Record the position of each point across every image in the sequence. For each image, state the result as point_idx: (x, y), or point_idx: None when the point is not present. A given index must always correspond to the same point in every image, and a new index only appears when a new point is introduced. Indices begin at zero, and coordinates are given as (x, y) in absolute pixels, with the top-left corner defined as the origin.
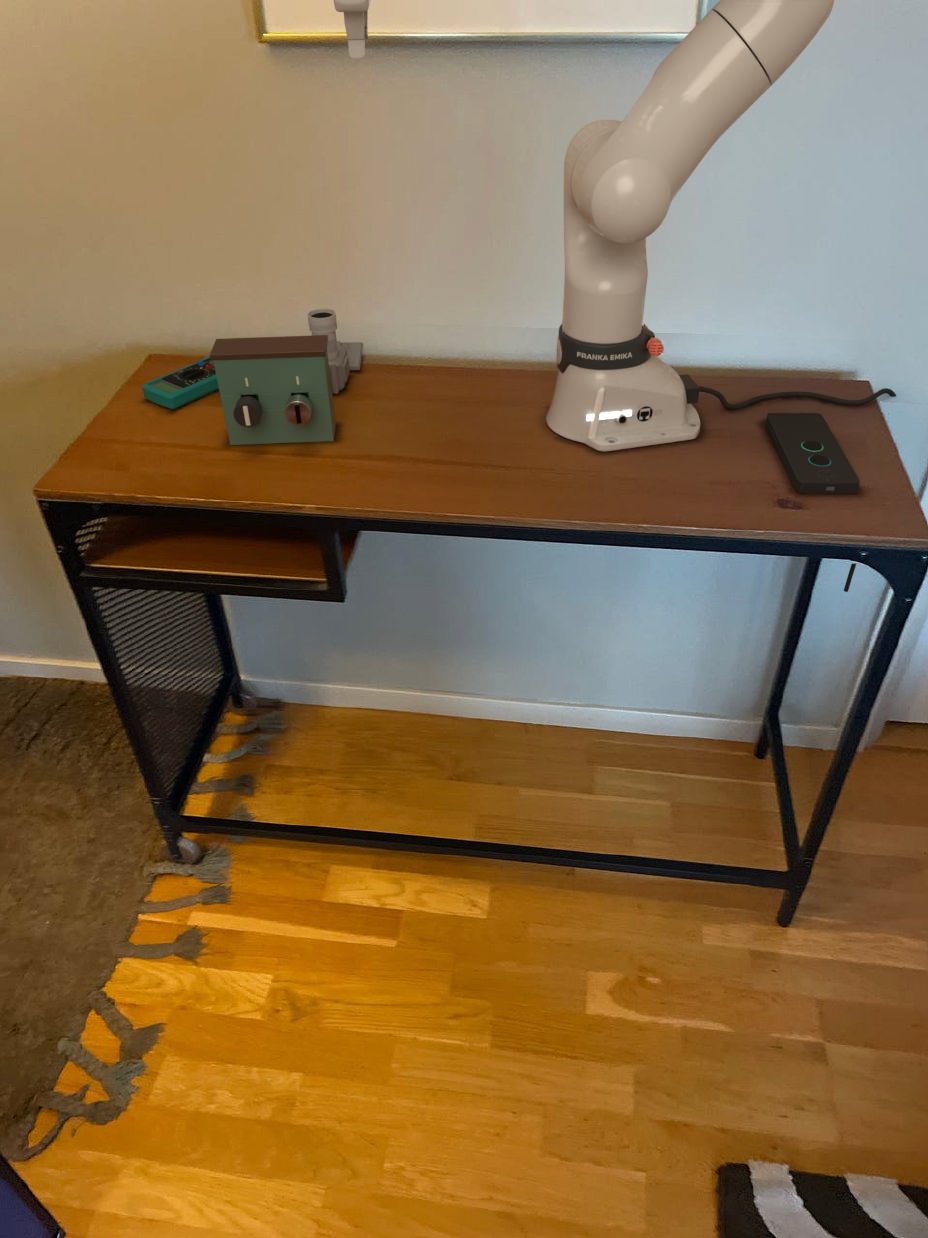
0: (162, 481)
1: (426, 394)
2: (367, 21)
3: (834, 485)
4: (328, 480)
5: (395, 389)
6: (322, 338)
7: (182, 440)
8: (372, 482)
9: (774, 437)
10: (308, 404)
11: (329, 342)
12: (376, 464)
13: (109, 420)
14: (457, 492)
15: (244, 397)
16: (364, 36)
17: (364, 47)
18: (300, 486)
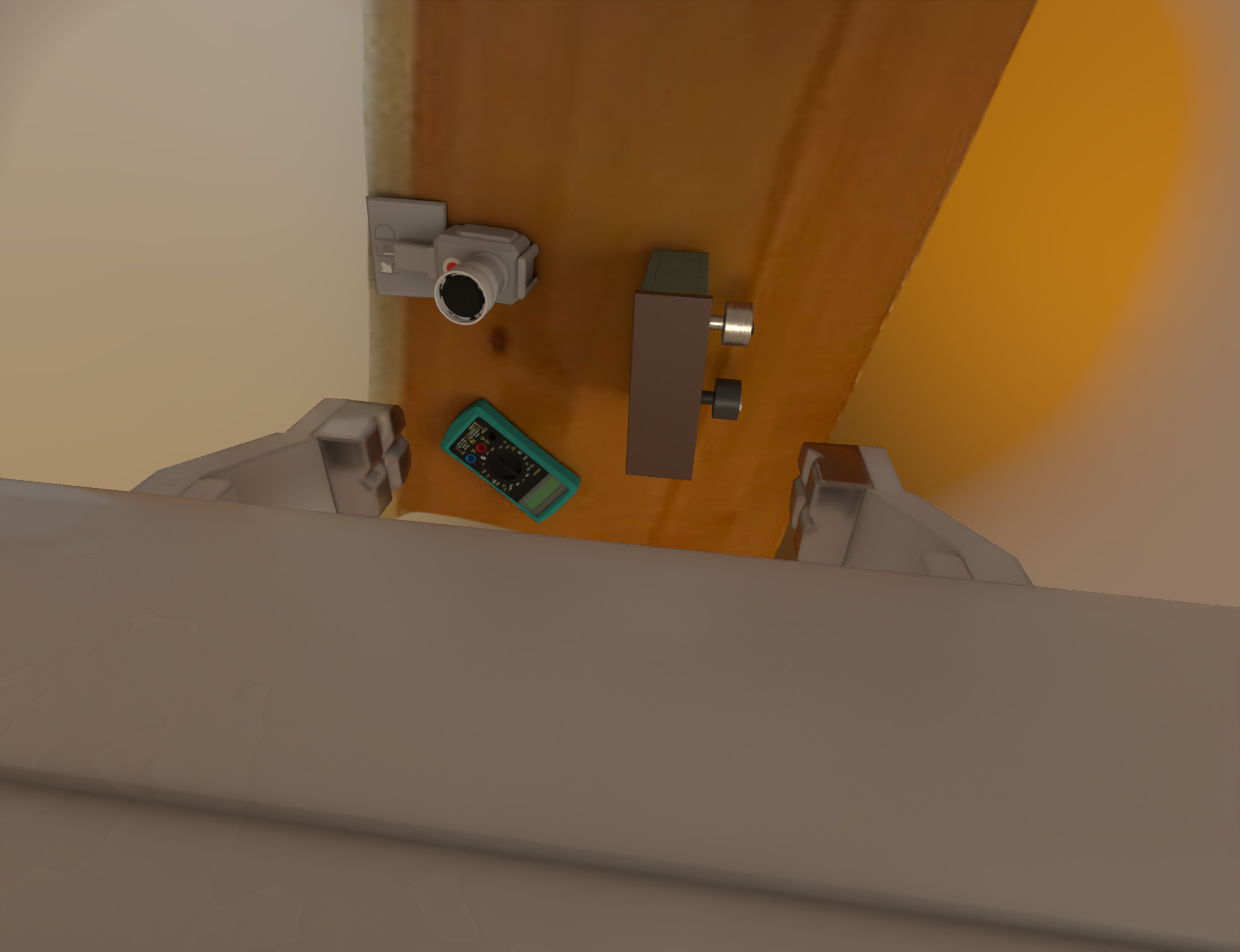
0: (773, 475)
1: (546, 62)
2: (262, 442)
3: None
4: (834, 262)
5: (521, 131)
6: (652, 303)
7: None
8: (863, 189)
9: None
10: (745, 310)
11: (495, 274)
12: (804, 180)
13: None
14: (950, 22)
15: (717, 410)
16: (379, 433)
17: (891, 467)
18: (840, 304)
